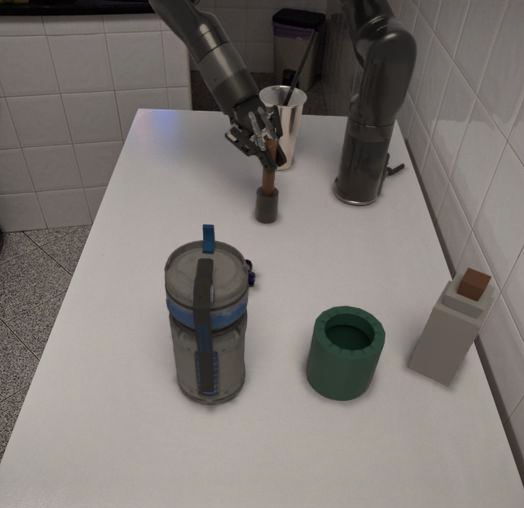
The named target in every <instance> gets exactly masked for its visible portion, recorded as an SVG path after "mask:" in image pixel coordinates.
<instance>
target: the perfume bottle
mask: <svg viewBox="0 0 524 508" xmlns="http://www.w3.org/2000/svg"><path fill="white" fill-rule="evenodd" d="M452 279H453V280H451V279H449V280H448V281H447V283H446V285H445V286H444V287H443V290H442V291H441V293H440V295H439V297H438V298H437V300H436V302H435V304H434V305H433V307H432V309H431V312H430V314H429V316H428V318H427V321H426V323H425V326H424V329H423V331H422V333H421V335H420V337H419V340H418V342H417V345H416V347H415V349H414V352H413V354H412V356H411V358H410V361H409V364H407V365H408V366H407V368H408V369H409V370H412V371H414V372H416V373H418V374H420V375H422V376H425V377H426V378H429V379H431V380H433V381H434V382H437V383H440V384H441V385H444V386H446V387H450V385H451V383H452V381H453V379H454V378H455V376H456V375H457V372H458V370H459V369H460V367H461V365H462V364H463V361H464V359H465V358H466V356H467V354H468V353H469V351H470V348H471V347H472V345H473V343H474V342H475V339H476V338H477V336H478V335H479V332H480V331H481V329H482V327H483V325H484V323H485V320H486V318H487V316H488V314H489V312H490V310H491V308H492V306H493V303H494V302H495V299H496V298H495V297H492V295H493V294H494V291H495V289H496V287H495V286H492V285H490V284H489V283H490V281H491V280H492V275H489V274H486V273H484V272H481V271H480V270H479V271H478V270H476V269H473V268H471V267H467V268H466V270H465V272H464V274H463V273H459V272H456V274H455V276H454V278H452Z"/></svg>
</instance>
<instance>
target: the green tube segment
mask: <svg viewBox="0 0 524 508" xmlns="http://www.w3.org/2000/svg"><path fill="white" fill-rule="evenodd" d="M314 321H315V322H314V326H313V329H312V335H311V340H310V345H309V352H308V357H307V362H306V368H305V375H306V379H307V381H308V384H309V385H310V387H311V388H312V389H313V390H314V391H315V392H317V394H319V395H321V396H322V397H324V398H327V399H329V400H332V401H339V402H344V401H346V402H347V401H352V400H355V399H357V398H359V397H361V396H363V394H365V393H366V392H367V391H368V388H369V387H370V385H371V383H372V380H373V378H374V375H375V372H376V369H377V366H378V364H379V361H380V358H381V354H382V352H383V350H384V347H385V343H386V331H385V328H384V326H383V324H382V322H381V321H380V320H379V319H378V318H377V317H376V316H375V315H374V314H372V313H371V312H369V311H367V310H365V309H362V308H361V307H355V306H351V305H338V306H333V307H330V308H328V309H326V310H323V311H322V312H321V313H320V314H319V315H318V316H317V317H316V319H315V320H314Z"/></svg>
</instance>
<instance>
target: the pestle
mask: <svg viewBox="0 0 524 508" xmlns="http://www.w3.org/2000/svg"><path fill="white" fill-rule="evenodd" d="M263 142H264V141H263ZM264 144H265V146H266V151H267V150H268V151H269V153H270V154H271V156H272V158H273V160H274V161H275V163H276V155H277V142H276V141H274V140H267V141H265V142H264ZM261 176H262V178H261V186H259V187H258V188H257V189H256V196H255V219H256V221H257V222H259V223H260V224H265V225H267V224H273V223H274V222H276V221H277V218H278V210H279V209H278V207H279V196H280V195H279V194H280V191H279V189H278V188H277V187H275V183H276V170H275V171H273V172H272V173H268V172H267V171H266V170H265V169H264V167H263V166H262V175H261Z"/></svg>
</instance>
